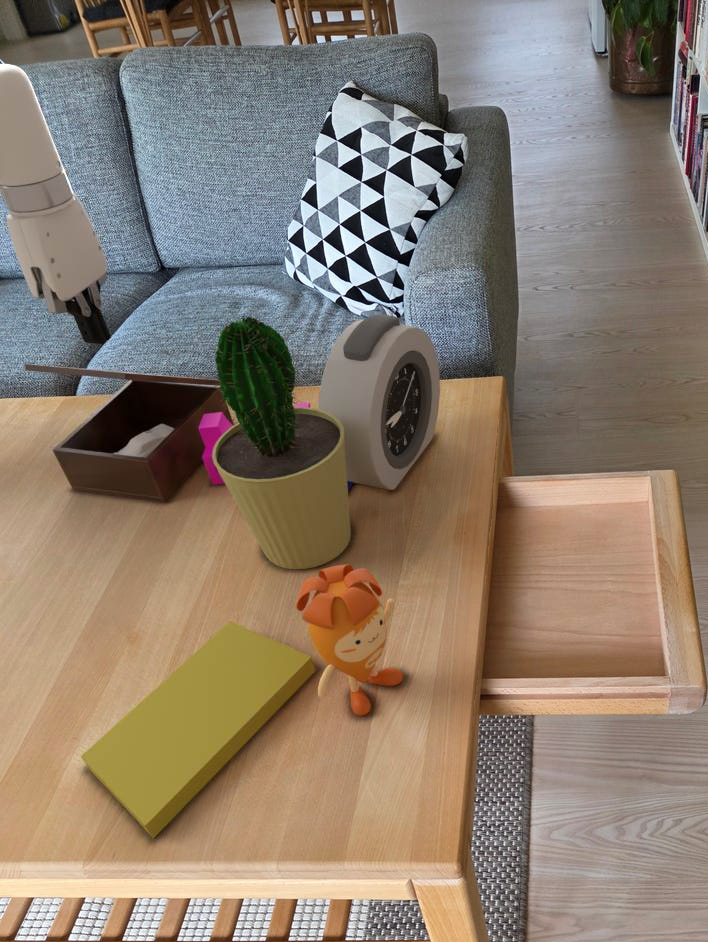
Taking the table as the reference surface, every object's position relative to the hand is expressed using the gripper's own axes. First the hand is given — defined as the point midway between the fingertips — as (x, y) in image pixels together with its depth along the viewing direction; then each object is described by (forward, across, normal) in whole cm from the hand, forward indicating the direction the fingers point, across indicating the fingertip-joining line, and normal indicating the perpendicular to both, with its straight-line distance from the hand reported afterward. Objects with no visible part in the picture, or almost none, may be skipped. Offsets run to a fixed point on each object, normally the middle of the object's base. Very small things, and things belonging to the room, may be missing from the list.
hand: (98, 340), depth 114 cm
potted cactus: (+19, +12, +32) cm, 39 cm away
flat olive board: (+19, +42, +34) cm, 58 cm away
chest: (+19, -1, +1) cm, 19 cm away
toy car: (+18, +1, +1) cm, 18 cm away
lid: (+7, -2, +1) cm, 7 cm away
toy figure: (+18, +33, +49) cm, 62 cm away
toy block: (+19, -2, +19) cm, 27 cm away
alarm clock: (+18, -7, +36) cm, 41 cm away
